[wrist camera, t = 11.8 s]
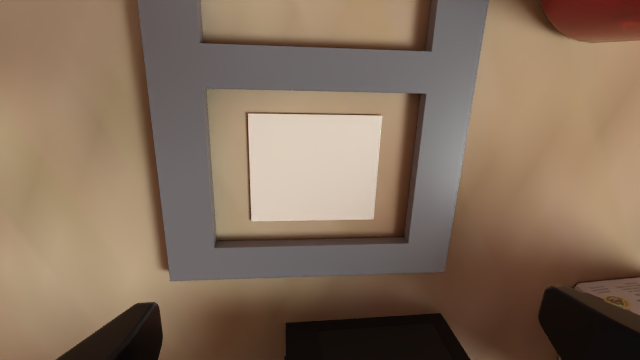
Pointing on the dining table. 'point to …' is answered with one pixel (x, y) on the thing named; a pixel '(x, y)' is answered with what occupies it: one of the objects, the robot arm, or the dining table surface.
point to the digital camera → (374, 339)
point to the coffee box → (615, 292)
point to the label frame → (307, 144)
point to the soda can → (595, 19)
